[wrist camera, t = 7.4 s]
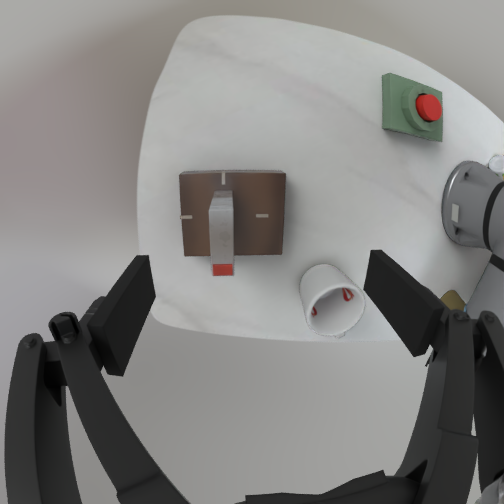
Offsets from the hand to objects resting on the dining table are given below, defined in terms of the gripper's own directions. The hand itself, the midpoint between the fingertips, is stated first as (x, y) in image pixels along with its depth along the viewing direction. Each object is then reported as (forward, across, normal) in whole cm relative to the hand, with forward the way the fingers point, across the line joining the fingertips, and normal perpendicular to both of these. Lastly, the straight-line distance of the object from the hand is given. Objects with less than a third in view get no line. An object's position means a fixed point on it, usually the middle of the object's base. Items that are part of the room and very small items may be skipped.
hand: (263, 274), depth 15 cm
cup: (+20, +11, -13) cm, 27 cm away
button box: (+20, +23, +15) cm, 34 cm away
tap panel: (+20, -2, -1) cm, 20 cm away
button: (+16, +23, +15) cm, 32 cm away
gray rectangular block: (+17, -3, -1) cm, 17 cm away
